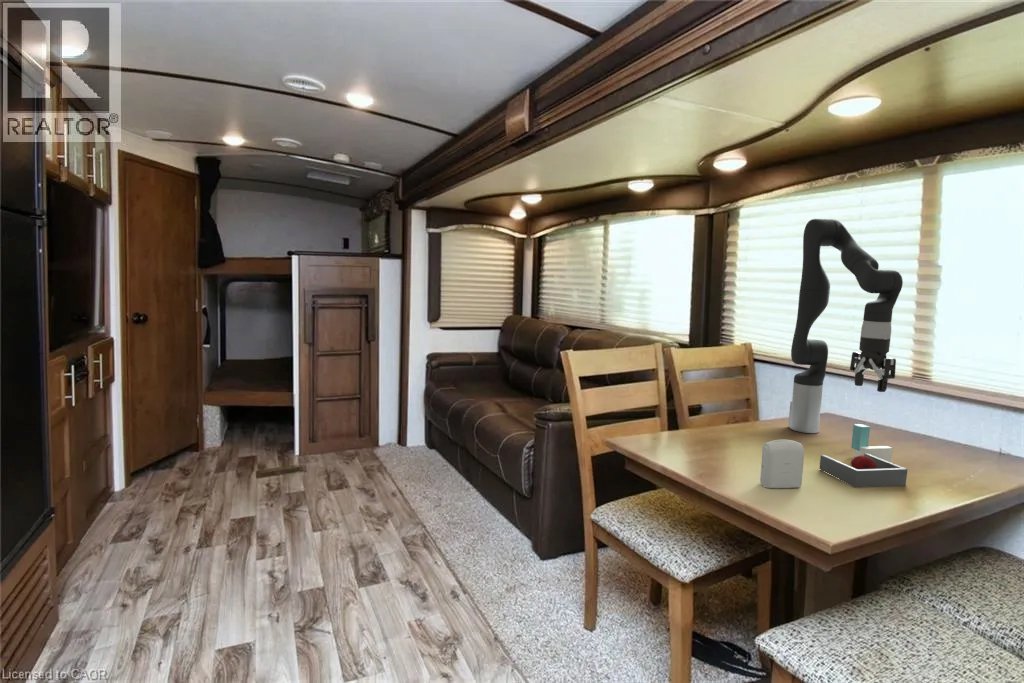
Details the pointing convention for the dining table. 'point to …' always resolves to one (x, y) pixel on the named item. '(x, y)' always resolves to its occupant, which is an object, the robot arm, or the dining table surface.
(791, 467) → the photo printer
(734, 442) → the dining table surface
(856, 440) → the teal-handled white slab
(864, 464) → the onion
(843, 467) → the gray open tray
